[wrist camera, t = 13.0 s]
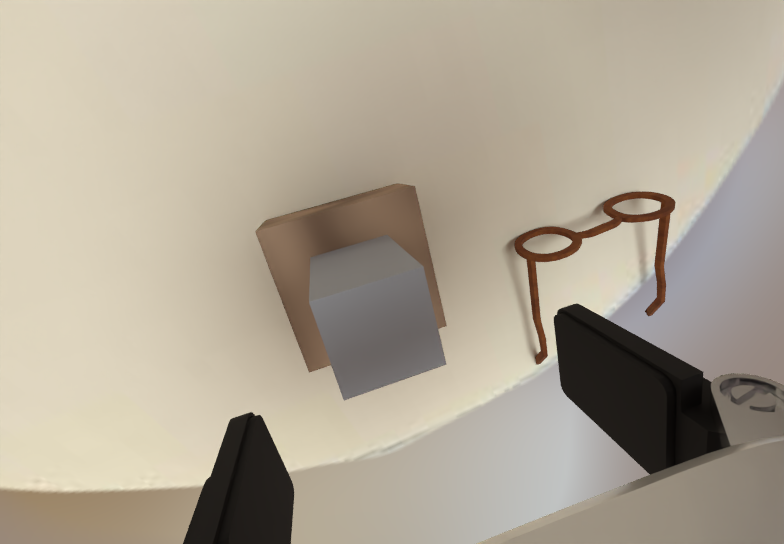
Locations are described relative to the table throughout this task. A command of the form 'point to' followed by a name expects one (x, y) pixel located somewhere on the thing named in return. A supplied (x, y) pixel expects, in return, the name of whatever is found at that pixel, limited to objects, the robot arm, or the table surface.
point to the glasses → (663, 214)
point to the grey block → (374, 315)
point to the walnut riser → (335, 231)
